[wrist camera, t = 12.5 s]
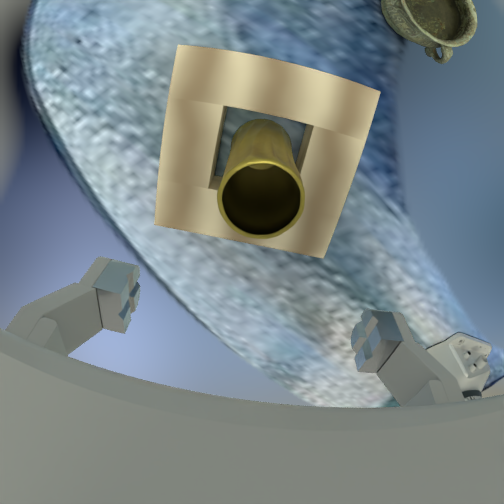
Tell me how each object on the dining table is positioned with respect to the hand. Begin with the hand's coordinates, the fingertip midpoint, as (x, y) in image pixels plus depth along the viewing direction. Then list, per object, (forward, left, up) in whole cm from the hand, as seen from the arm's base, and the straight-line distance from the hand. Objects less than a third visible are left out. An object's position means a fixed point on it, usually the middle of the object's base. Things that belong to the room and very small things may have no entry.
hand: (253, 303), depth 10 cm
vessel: (-12, -20, -23) cm, 33 cm away
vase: (0, 0, -23) cm, 23 cm away
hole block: (0, 0, -23) cm, 23 cm away
